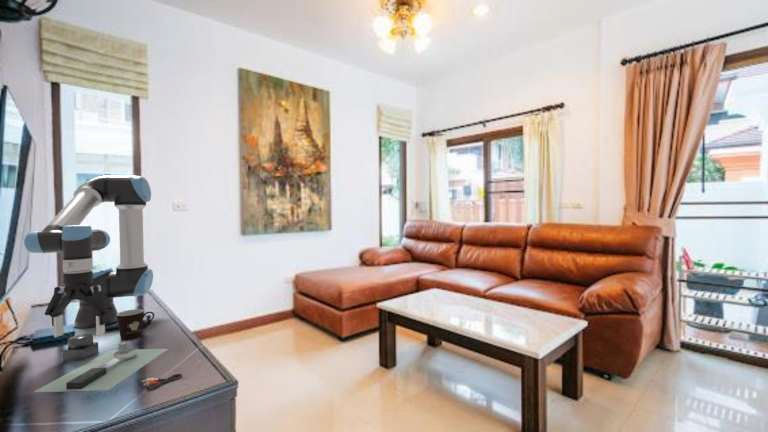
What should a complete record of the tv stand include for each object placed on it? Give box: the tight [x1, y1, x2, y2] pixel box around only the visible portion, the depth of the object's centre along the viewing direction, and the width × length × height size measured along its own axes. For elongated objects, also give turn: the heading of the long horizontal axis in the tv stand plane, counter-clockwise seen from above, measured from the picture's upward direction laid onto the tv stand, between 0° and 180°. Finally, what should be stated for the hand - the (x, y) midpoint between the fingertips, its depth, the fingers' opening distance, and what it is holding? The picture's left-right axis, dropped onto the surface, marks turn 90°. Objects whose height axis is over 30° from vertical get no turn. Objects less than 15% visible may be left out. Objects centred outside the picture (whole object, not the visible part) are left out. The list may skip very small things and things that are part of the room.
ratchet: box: [66, 340, 138, 389], centre depth 108 cm, size 23×6×5 cm, turn 2°
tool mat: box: [33, 348, 169, 393], centre depth 109 cm, size 28×20×1 cm
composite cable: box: [141, 373, 183, 391], centre depth 100 cm, size 10×5×2 cm, turn 129°
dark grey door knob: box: [62, 333, 99, 362], centre depth 118 cm, size 6×6×7 cm
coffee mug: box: [116, 308, 155, 342], centre depth 136 cm, size 12×9×10 cm
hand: (79, 335), depth 117 cm, fingers open, 13 cm apart
